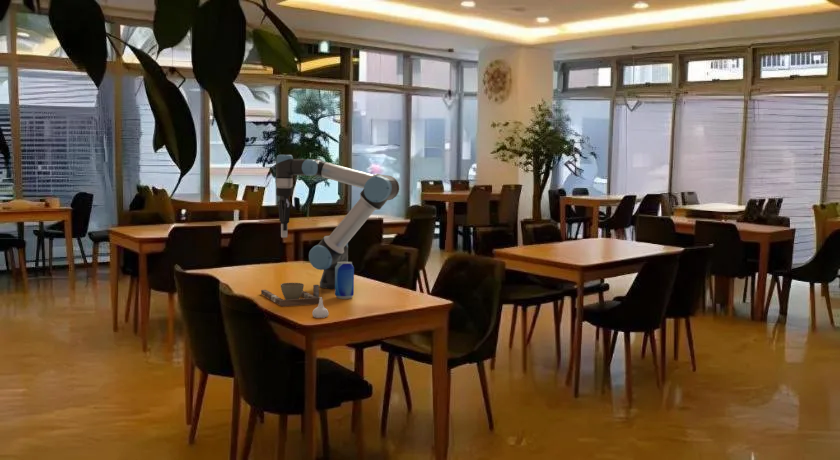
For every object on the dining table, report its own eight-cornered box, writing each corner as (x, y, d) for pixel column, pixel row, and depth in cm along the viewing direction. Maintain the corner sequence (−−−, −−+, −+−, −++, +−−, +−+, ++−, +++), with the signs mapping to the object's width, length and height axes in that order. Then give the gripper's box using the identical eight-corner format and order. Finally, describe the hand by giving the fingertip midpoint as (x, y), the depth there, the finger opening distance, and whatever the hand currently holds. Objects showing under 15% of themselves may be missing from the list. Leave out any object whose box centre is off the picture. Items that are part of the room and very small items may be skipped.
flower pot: (299, 303, 338) (299, 286, 337) (277, 301, 340) (277, 285, 339) (306, 298, 347) (306, 283, 347) (285, 297, 349) (285, 281, 349)
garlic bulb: (319, 320, 306) (320, 300, 305) (308, 316, 310) (310, 296, 309) (331, 318, 311) (332, 298, 309) (321, 314, 315) (322, 295, 314)
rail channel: (261, 294, 357) (261, 281, 356) (304, 291, 366) (304, 278, 366) (281, 306, 329) (281, 292, 328) (328, 303, 338) (328, 289, 338)
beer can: (338, 299, 347) (339, 263, 345) (332, 296, 354) (332, 261, 353) (356, 298, 351) (356, 263, 349) (349, 295, 358) (349, 260, 357)
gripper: (272, 186, 374) (272, 236, 376) (280, 188, 362) (280, 238, 364) (287, 186, 377) (287, 235, 379) (296, 188, 366) (296, 238, 368)
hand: (284, 237), depth 372 cm, fingers closed
